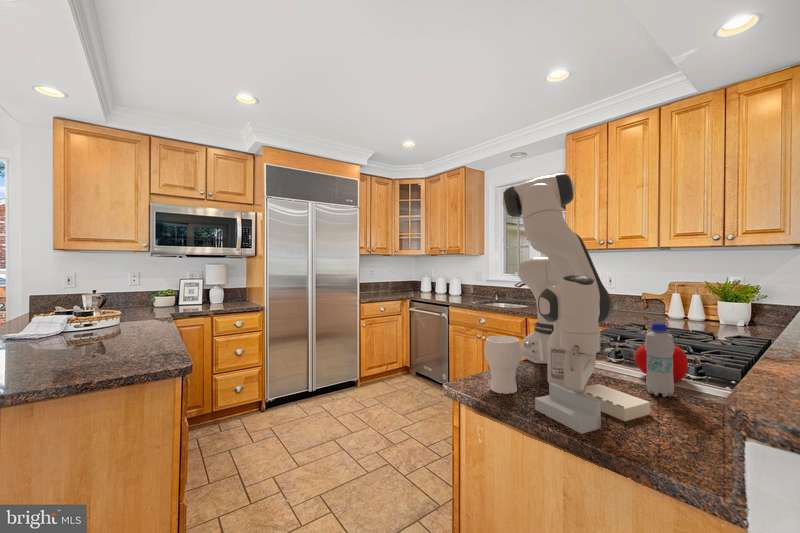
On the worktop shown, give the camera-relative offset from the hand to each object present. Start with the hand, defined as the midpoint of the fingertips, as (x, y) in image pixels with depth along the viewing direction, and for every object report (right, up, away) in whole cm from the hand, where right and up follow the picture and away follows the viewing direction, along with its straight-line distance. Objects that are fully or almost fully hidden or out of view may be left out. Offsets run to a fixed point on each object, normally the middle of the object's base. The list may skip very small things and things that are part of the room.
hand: (580, 398), depth 87 cm
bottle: (+28, -3, +12) cm, 30 cm away
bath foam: (+5, -4, +21) cm, 22 cm away
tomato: (+38, -3, +24) cm, 45 cm away
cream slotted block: (+10, -4, +4) cm, 11 cm away
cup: (-14, -5, +18) cm, 23 cm away
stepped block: (-4, -4, -1) cm, 6 cm away
